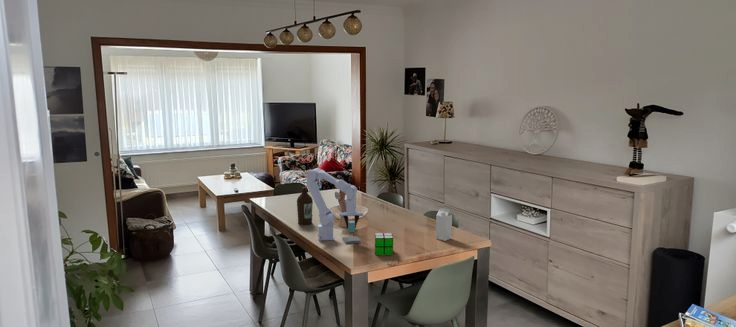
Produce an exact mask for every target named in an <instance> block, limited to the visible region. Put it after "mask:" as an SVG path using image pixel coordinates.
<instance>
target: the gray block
mask: <svg viewBox="0 0 736 327" xmlns="http://www.w3.org/2000/svg"><path fill="white" fill-rule="evenodd" d="M341 240H342V241H343V242H344V244H345V245H351V244H352V245H353V244H360V243H361V239H360V238H359V237H358V236H357V235H356V236H344V237H343V236H342V238H341Z"/></svg>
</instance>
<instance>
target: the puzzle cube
mask: <svg viewBox="0 0 736 327" xmlns="http://www.w3.org/2000/svg"><path fill="white" fill-rule="evenodd" d="M374 254H375V256H394V235H393V233H392V232H384V233H382V232H378V233H377V232H376V233H374Z"/></svg>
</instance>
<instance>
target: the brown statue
mask: <svg viewBox="0 0 736 327" xmlns="http://www.w3.org/2000/svg"><path fill="white" fill-rule="evenodd" d="M345 182H346V183H348V182H347V181H345ZM334 198H335V199H336V200H337V202H338V205H339V207H340V213H344V212H347V199H346V194H345V193H344V192H343V191H341V190H339V191H334ZM345 199H346V200H345ZM348 221H350V218H349V217H348ZM338 227H339V228H347V225H346V222H345V219H344V217H343V216H341V217H340V218H339V221H338Z"/></svg>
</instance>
